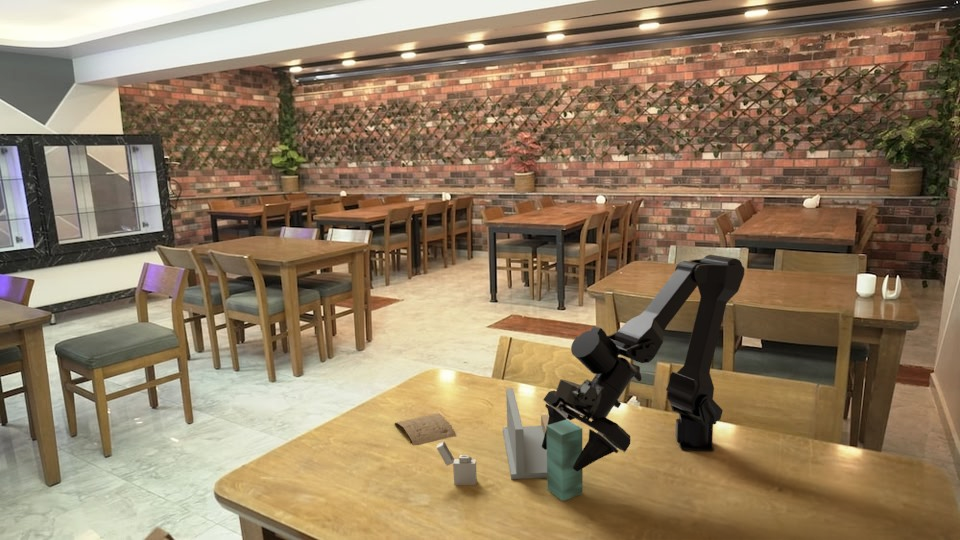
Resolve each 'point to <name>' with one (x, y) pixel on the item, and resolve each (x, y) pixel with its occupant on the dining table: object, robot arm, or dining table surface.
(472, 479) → the lighter
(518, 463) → the grey bookend
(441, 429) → the curved bark piece
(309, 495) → the dining table surface
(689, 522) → the dining table surface
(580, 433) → the teal block
